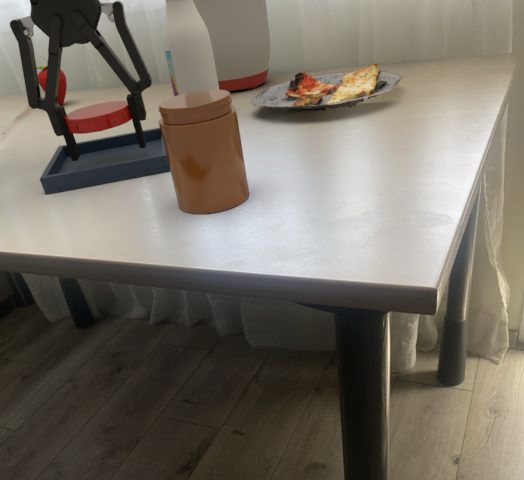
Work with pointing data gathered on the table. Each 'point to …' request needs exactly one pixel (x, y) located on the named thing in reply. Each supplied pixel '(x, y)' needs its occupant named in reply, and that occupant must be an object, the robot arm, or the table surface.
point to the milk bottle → (188, 49)
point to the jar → (204, 151)
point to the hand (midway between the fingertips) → (109, 151)
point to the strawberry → (62, 83)
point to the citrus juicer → (237, 41)
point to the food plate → (327, 90)
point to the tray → (105, 161)
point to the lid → (98, 117)
